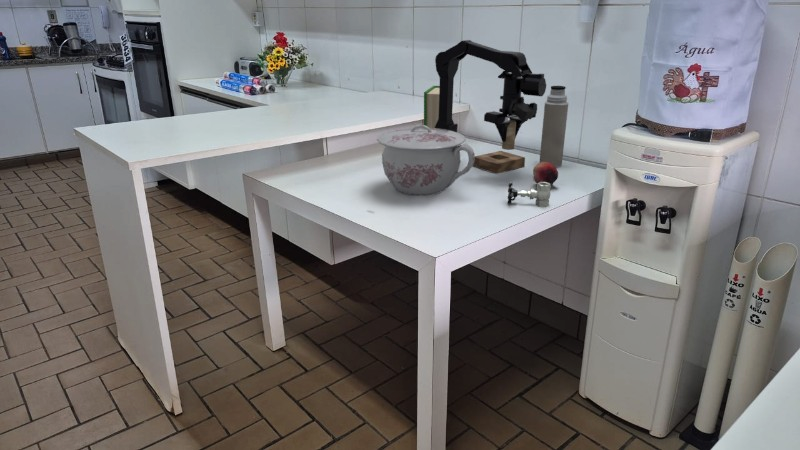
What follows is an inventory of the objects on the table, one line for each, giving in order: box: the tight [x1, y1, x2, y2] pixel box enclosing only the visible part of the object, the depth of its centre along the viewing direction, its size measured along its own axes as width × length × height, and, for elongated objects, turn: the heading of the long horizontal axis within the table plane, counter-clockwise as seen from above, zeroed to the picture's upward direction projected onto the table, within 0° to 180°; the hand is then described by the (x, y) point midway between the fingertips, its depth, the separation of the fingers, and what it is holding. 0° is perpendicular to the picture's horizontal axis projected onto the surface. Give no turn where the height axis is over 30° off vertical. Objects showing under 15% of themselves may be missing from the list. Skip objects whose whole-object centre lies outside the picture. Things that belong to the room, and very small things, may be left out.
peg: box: [501, 119, 516, 151], centre depth 182 cm, size 4×4×9 cm
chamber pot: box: [376, 124, 476, 196], centre depth 172 cm, size 28×28×21 cm
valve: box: [507, 182, 552, 208], centre depth 160 cm, size 7×7×12 cm
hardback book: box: [423, 85, 440, 128], centre depth 217 cm, size 18×7×24 cm, turn 165°
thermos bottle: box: [538, 85, 569, 168], centre depth 195 cm, size 8×8×28 cm
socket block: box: [472, 150, 526, 175], centre depth 198 cm, size 14×12×4 cm
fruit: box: [532, 162, 559, 186], centre depth 175 cm, size 8×8×8 cm
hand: (508, 140), depth 183 cm, fingers closed on peg, 4 cm apart
